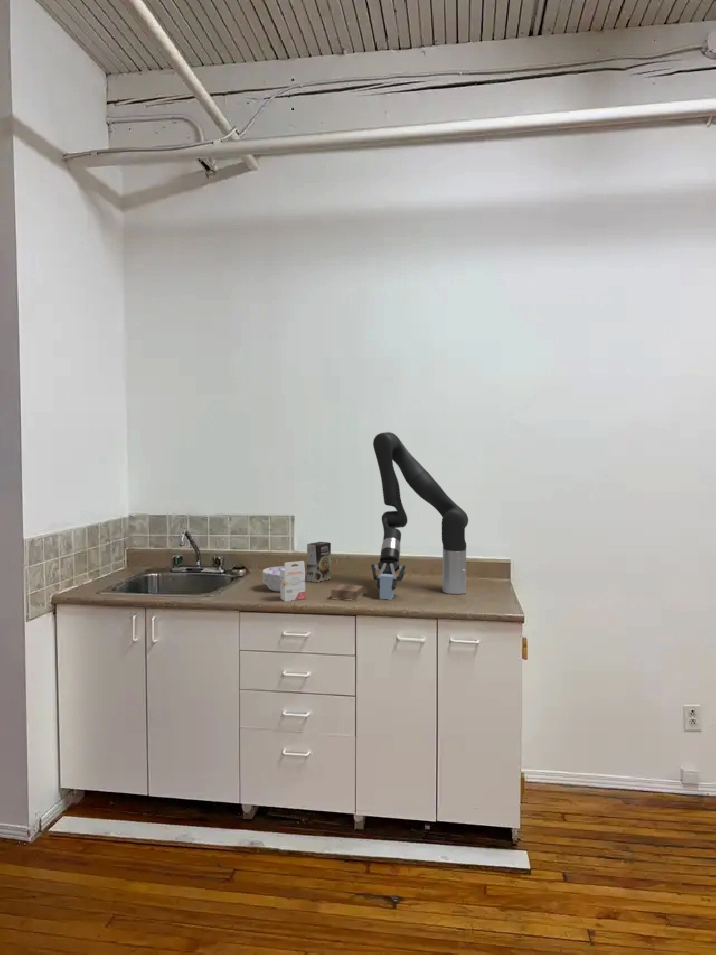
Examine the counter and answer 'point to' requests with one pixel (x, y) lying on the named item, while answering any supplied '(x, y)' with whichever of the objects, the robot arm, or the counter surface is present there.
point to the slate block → (386, 586)
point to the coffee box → (318, 561)
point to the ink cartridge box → (292, 581)
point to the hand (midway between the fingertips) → (386, 588)
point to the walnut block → (347, 592)
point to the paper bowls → (272, 577)
